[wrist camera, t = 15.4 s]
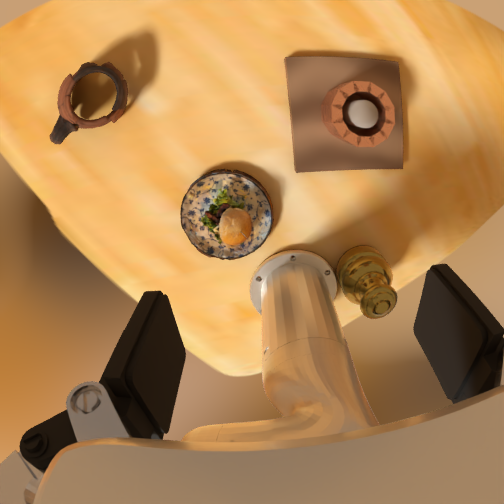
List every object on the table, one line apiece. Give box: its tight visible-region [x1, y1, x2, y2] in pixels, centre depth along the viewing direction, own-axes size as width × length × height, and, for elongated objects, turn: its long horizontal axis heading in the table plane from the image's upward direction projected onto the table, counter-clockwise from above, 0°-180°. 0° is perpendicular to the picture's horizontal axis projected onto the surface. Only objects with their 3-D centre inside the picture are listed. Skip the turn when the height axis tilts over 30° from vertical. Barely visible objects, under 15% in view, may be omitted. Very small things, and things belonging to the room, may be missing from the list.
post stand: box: [284, 57, 403, 173], centre depth 29 cm, size 14×14×6 cm
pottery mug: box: [50, 62, 128, 144], centre depth 29 cm, size 12×10×8 cm
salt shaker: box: [337, 246, 397, 319], centre depth 37 cm, size 7×7×10 cm
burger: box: [181, 169, 274, 260], centre depth 35 cm, size 12×12×8 cm
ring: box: [321, 81, 395, 147], centre depth 28 cm, size 7×7×5 cm
